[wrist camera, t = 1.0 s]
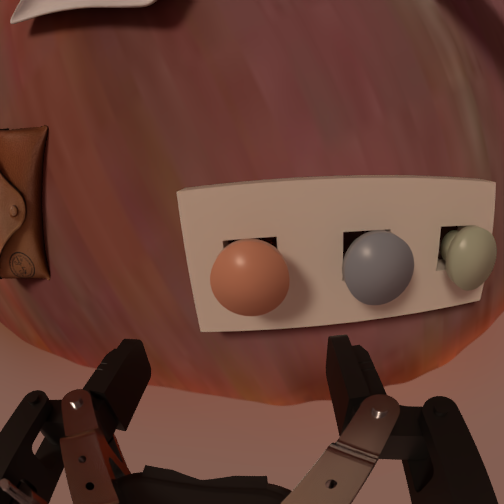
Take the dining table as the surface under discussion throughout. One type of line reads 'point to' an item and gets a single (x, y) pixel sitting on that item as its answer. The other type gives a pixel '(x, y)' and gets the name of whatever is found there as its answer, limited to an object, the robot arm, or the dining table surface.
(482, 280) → the sage button
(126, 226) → the dining table surface
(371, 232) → the slate button
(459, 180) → the button panel
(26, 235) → the sunglasses case
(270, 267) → the terracotta button
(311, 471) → the robot arm
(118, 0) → the salad plate
